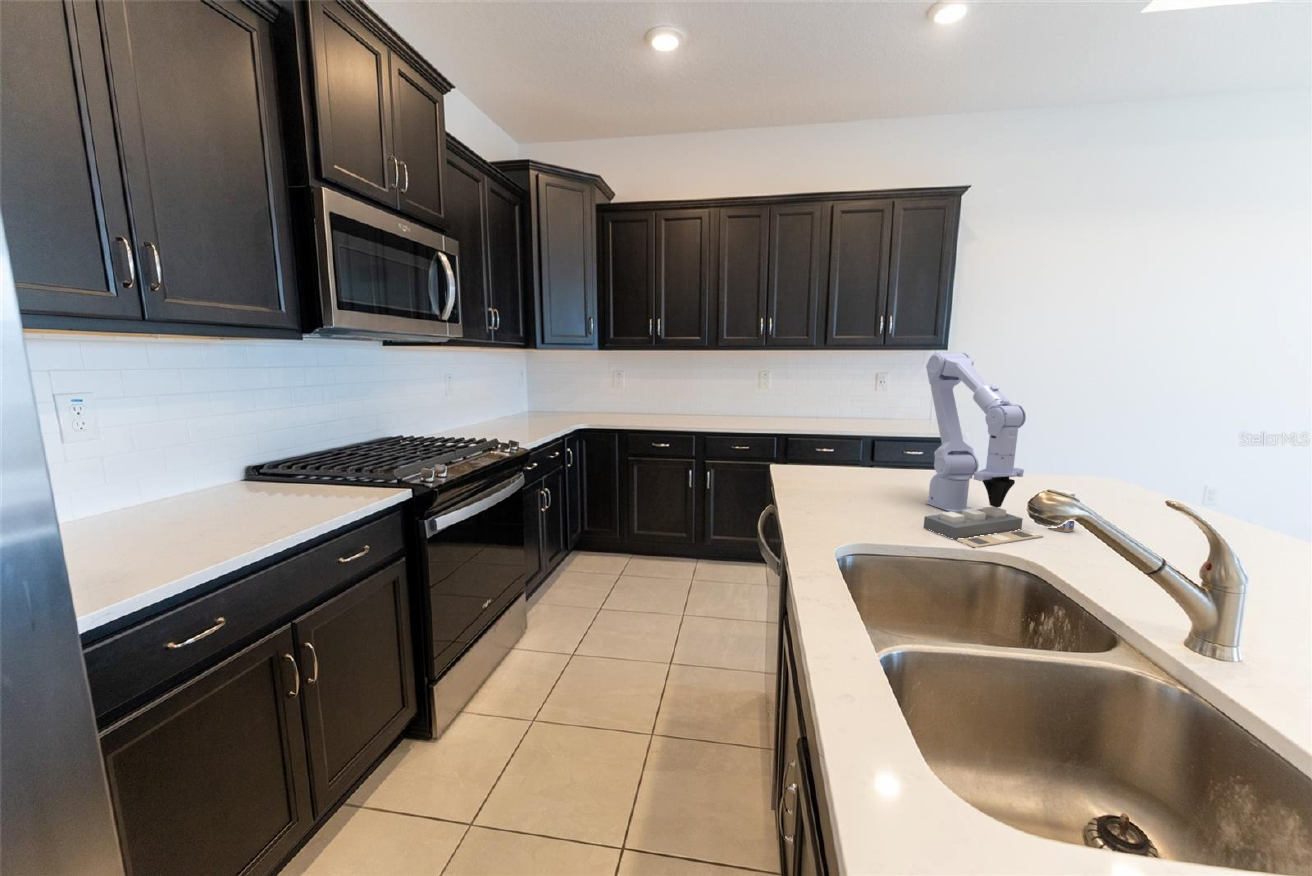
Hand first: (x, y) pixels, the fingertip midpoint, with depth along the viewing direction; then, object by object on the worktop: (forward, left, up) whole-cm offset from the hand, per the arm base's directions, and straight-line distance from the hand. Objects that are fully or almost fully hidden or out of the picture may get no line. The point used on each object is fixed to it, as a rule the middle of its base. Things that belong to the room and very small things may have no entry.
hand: (995, 506), depth 133 cm
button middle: (0, -7, -4) cm, 8 cm away
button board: (0, -7, -5) cm, 9 cm away
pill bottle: (+7, +14, -6) cm, 17 cm away
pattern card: (+7, -7, -5) cm, 11 cm away
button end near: (0, -14, -4) cm, 15 cm away
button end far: (0, 0, -4) cm, 4 cm away
